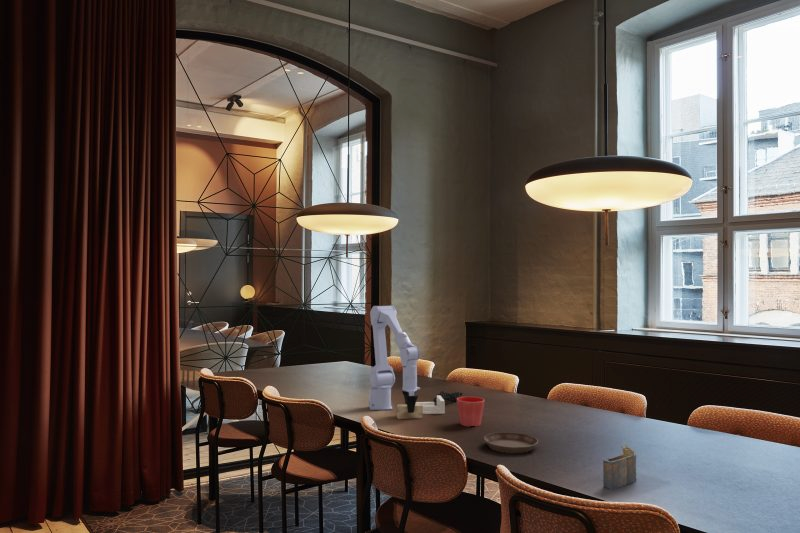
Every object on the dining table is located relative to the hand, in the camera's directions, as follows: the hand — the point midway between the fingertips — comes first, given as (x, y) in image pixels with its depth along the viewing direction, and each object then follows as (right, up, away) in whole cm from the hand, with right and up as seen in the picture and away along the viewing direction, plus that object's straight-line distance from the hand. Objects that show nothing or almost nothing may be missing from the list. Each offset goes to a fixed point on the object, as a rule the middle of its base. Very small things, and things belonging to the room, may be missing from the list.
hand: (409, 410), depth 247 cm
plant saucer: (+33, -2, -43) cm, 54 cm away
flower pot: (+23, -3, -12) cm, 26 cm away
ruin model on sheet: (+56, -2, -79) cm, 97 cm away
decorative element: (+17, -4, +27) cm, 32 cm away
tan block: (0, -3, 0) cm, 3 cm away
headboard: (+7, -3, +12) cm, 14 cm away
